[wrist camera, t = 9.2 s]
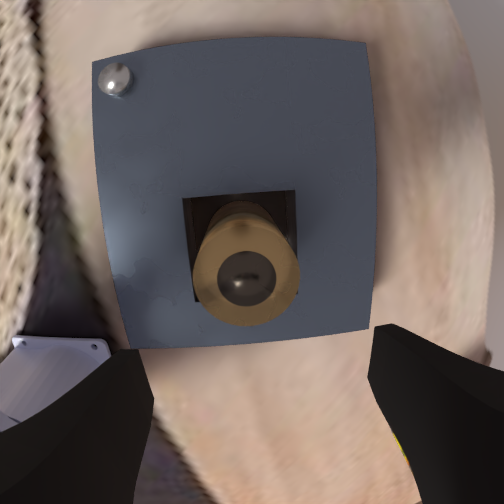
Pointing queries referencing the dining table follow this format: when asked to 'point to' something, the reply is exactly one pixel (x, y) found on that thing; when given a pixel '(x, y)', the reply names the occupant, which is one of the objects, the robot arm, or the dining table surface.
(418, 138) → the dining table surface
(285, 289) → the bushing
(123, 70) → the jig
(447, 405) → the robot arm
